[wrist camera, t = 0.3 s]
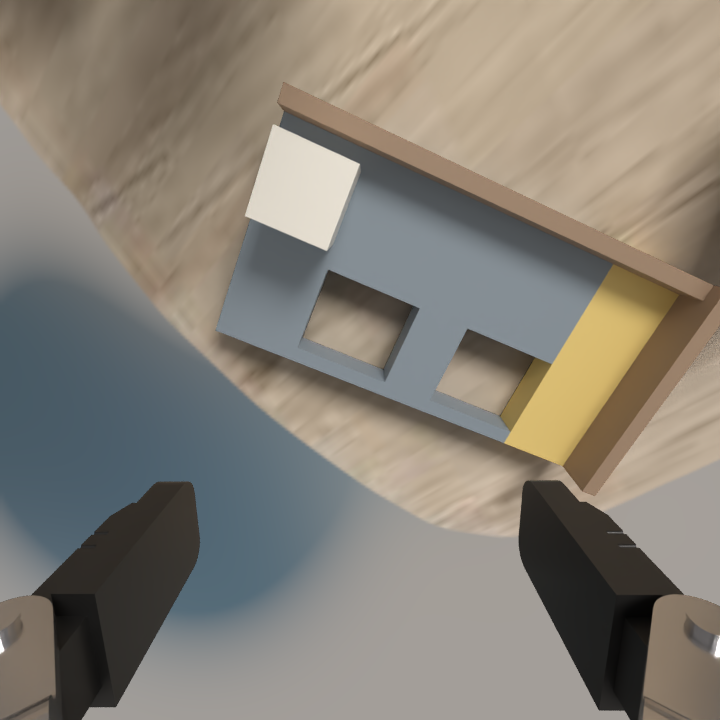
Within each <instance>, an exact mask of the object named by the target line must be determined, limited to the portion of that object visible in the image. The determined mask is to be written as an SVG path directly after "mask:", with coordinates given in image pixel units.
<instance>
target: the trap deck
mask: <svg viewBox="0 0 720 720" xmlns="http://www.w3.org/2000/svg"><path fill="white" fill-rule="evenodd" d="M277 103H278V104H279V105H280V107H281V108H282V109H283V110H284V113H283V117H282V120H281V123H280V126H279V127H281V128H283V129H285V130H287V131H289V132H291V133H294V134H296V135H298V136H300V137H302V138H305V139H307V140H309V141H311V142H313V143H315V144H318V145H320V146H322V147H324V148H326V149H328V150H331V151H333V152H335V153H337V154H339V155H342V156H344V157H346V158H348V159H350V160H352V161H355V162H357V163H359V164H360V169H361V173H360V176H359V178H358V181H357V184H356V186H355V189H354V191H353V194H352V197H351V199H350V202H349V204H348V207H347V210H346V212H345V215H344V217H343V220H342V223H341V225H340V228H339V230H338V233H337V236H336V238H335V241H334V243H333V245H332V246H331V247H330V248H329V249H328V250H327V251H326V250H323V249H321V248H319V247H316V246H314V245H312V244H309V243H307V242H305V241H302V240H300V239H298V238H295V237H293V236H291V235H288V234H286V233H284V232H281V231H279V230H277V229H274V228H272V227H270V226H267V225H265V224H263V223H260V222H258V221H256V220H253V219H250V222H249V225H248V228H247V232H246V235H245V238H244V241H243V244H242V247H241V251H240V254H239V257H238V260H237V263H236V267H235V270H234V273H233V276H232V279H231V283H230V286H229V289H228V292H227V295H226V299H225V302H224V305H223V308H222V311H221V315H220V318H219V321H218V324H217V327H216V331H218V332H221V333H223V334H226V335H228V336H231V337H234V338H236V339H239V340H241V341H244V342H246V343H249V344H251V345H254V346H257V347H259V348H262V349H264V350H267V351H269V352H272V353H274V354H277V355H280V356H282V357H285V358H287V359H290V360H292V361H295V362H297V363H300V364H303V365H305V366H308V367H310V368H313V369H315V370H318V371H321V372H323V373H326V374H328V375H331V376H333V377H336V378H338V379H341V380H344V381H346V382H349V383H351V384H354V385H356V386H359V387H361V388H364V389H367V390H369V391H372V392H374V393H377V394H379V395H382V396H384V397H387V398H390V399H392V400H395V401H397V402H400V403H402V404H405V405H408V406H410V407H413V408H415V409H418V410H420V411H423V412H425V413H428V414H431V415H433V416H436V417H438V418H441V419H443V420H446V421H448V422H451V423H454V424H456V425H459V426H461V427H464V428H466V429H469V430H471V431H474V432H477V433H479V434H482V435H484V436H487V437H489V438H492V439H495V440H497V441H500V442H502V443H505V444H507V445H510V446H512V447H515V448H518V449H520V450H523V451H525V452H528V453H530V454H533V455H535V456H538V457H541V458H543V459H546V460H548V461H551V462H553V463H556V464H559V465H561V466H563V467H564V468H565V470H566V471H567V472H568V474H569V475H570V476H571V477H572V479H573V480H574V481H575V483H576V484H577V485H578V486H579V488H580V489H581V490H582V491H583V492H585V493H588V494H591V495H593V496H595V495H596V494H597V493H598V491H599V490H600V488H601V487H602V486H603V484H604V483H605V482H606V480H607V479H608V478H609V476H610V475H611V473H612V472H613V471H614V469H615V468H616V467H617V465H618V464H619V462H620V461H621V460H622V458H623V457H624V456H625V454H626V453H627V452H628V450H629V449H630V447H631V446H632V445H633V443H634V442H635V441H636V439H637V438H638V437H639V435H640V434H641V432H642V431H643V430H644V428H645V427H646V426H647V424H648V423H649V421H650V420H651V419H652V417H653V416H654V415H655V413H656V412H657V411H658V409H659V408H660V406H661V405H662V404H663V402H664V401H665V400H666V398H667V397H668V396H669V394H670V393H671V391H672V390H673V389H674V387H675V386H676V385H677V383H678V382H679V380H680V379H681V378H682V376H683V375H684V374H685V372H686V371H687V370H688V368H689V367H690V365H691V364H692V363H693V361H694V360H695V359H696V357H697V356H698V355H699V353H700V352H701V350H702V349H703V348H704V346H705V345H706V344H707V342H708V341H709V340H710V338H711V337H712V335H713V334H714V333H715V331H716V330H717V329H718V327H719V326H720V287H718V286H714V285H712V284H709V283H707V282H705V281H703V280H701V279H699V278H697V277H695V276H693V275H690V274H688V273H686V272H684V271H682V270H680V269H678V268H676V267H673V266H671V265H669V264H667V263H665V262H663V261H661V260H659V259H657V258H654V257H652V256H650V255H648V254H646V253H644V252H642V251H640V250H638V249H635V248H633V247H631V246H629V245H627V244H625V243H623V242H621V241H619V240H616V239H614V238H612V237H610V236H608V235H606V234H604V233H602V232H600V231H597V230H595V229H593V228H591V227H589V226H587V225H585V224H583V223H581V222H578V221H576V220H574V219H572V218H570V217H568V216H566V215H564V214H562V213H559V212H557V211H555V210H553V209H551V208H549V207H547V206H545V205H542V204H540V203H538V202H536V201H534V200H532V199H530V198H528V197H526V196H523V195H521V194H519V193H517V192H515V191H513V190H511V189H509V188H507V187H504V186H502V185H500V184H498V183H496V182H494V181H492V180H490V179H488V178H485V177H483V176H481V175H479V174H477V173H475V172H473V171H471V170H469V169H466V168H464V167H462V166H460V165H458V164H456V163H454V162H452V161H450V160H447V159H445V158H443V157H441V156H439V155H437V154H435V153H433V152H431V151H428V150H426V149H424V148H422V147H420V146H418V145H416V144H414V143H412V142H409V141H407V140H405V139H403V138H401V137H399V136H397V135H395V134H392V133H390V132H388V131H386V130H384V129H382V128H380V127H378V126H376V125H373V124H371V123H369V122H367V121H365V120H363V119H361V118H359V117H357V116H354V115H352V114H350V113H348V112H346V111H344V110H342V109H340V108H338V107H335V106H333V105H331V104H329V103H327V102H325V101H323V100H321V99H319V98H316V97H314V96H312V95H310V94H308V93H306V92H304V91H302V90H300V89H297V88H295V87H293V86H291V85H289V84H287V83H285V82H283V85H282V88H281V92H280V95H279V98H278V102H277ZM329 270H330V271H333V272H335V273H337V274H340V275H342V276H344V277H347V278H349V279H352V280H354V281H356V282H359V283H361V284H363V285H366V286H368V287H370V288H373V289H375V290H378V291H380V292H382V293H385V294H387V295H389V296H392V297H394V298H396V299H399V300H401V301H404V302H406V303H408V304H411V305H413V307H412V310H411V312H410V314H409V316H408V318H407V320H406V322H405V325H404V327H403V329H402V331H401V333H400V335H399V337H398V339H397V342H396V344H395V346H394V348H393V350H392V352H391V354H390V357H389V359H388V361H387V363H386V365H385V367H384V369H380V368H378V367H375V366H373V365H370V364H368V363H365V362H363V361H360V360H358V359H355V358H353V357H350V356H348V355H345V354H343V353H340V352H338V351H335V350H333V349H330V348H328V347H325V346H323V345H320V344H318V343H315V342H313V341H310V340H308V339H305V338H303V335H304V333H305V330H306V327H307V325H308V322H309V320H310V317H311V315H312V312H313V309H314V307H315V304H316V302H317V299H318V297H319V294H320V291H321V289H322V286H323V284H324V281H325V278H326V276H327V273H328V271H329ZM467 329H470V330H472V331H475V332H477V333H479V334H482V335H484V336H486V337H489V338H491V339H493V340H496V341H498V342H501V343H503V344H505V345H508V346H510V347H512V348H515V349H517V350H520V351H522V352H524V353H527V354H529V355H531V356H534V357H535V358H534V360H533V362H532V363H531V365H530V367H529V369H528V370H527V372H526V374H525V375H524V377H523V379H522V380H521V382H520V384H519V385H518V387H517V389H516V390H515V392H514V394H513V395H512V397H511V399H510V401H509V402H508V404H507V406H506V407H505V409H504V411H503V412H502V414H501V416H498V415H496V414H493V413H491V412H488V411H486V410H483V409H481V408H478V407H476V406H473V405H471V404H468V403H466V402H463V401H461V400H458V399H456V398H453V397H451V396H448V395H446V394H443V393H441V392H438V391H436V388H437V386H438V384H439V382H440V380H441V378H442V376H443V374H444V372H445V371H446V369H447V367H448V365H449V363H450V361H451V359H452V357H453V355H454V353H455V351H456V350H457V348H458V346H459V344H460V342H461V340H462V338H463V336H464V334H465V332H466V330H467Z"/></svg>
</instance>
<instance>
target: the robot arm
mask: <svg viewBox="0 0 720 720" xmlns="http://www.w3.org/2000/svg"><path fill="white" fill-rule="evenodd" d="M199 547H200V537H199V527H198V519H197V510H196V501H195V493H194V488H193V485H192V483H190V482H157V483H155V484H154V485H153V486H152V487H151V488H150V489H149V490H148V491H147V492H146V493H145V494H144V496H143V497H142V498H141V499H140V500H139V501H138V502H137V503H131V504H130V505H128V506H126V507H125V508H123V509H121V510H120V511H118V512H116V513H115V514H113V515H111V516H110V517H109V518H108V519H107V520H106V521H105V522H104V523H103V524H102V525H101V526H100V527H99V528H98V529H97V530H96V531H95V533H94V535H91V536H90V537H89V538H88V539H87V540H86V541H85V542H84V543H83V544H82V545H81V548H80V549H79V548H78V549H77V550H76V551H75V552H74V553H73V554H72V555H71V556H70V557H69V558H68V559H67V560H66V561H65V562H64V563H63V564H62V565H61V566H60V567H59V568H58V569H57V570H56V571H55V572H54V573H53V574H52V575H51V576H50V577H49V578H48V579H47V580H46V581H45V582H44V583H43V584H42V585H41V586H40V587H39V588H38V589H37V590H36V591H35V592H34V593H33V594H32V595H31V596H22V597H17V598H13V599H9V600H6V601H3V602H0V720H82V718H83V717H84V715H85V713H86V711H87V710H88V708H89V707H116V706H117V704H118V702H119V701H120V699H121V697H122V695H123V694H124V692H125V690H126V688H127V686H128V684H129V683H130V681H131V679H132V677H133V676H134V674H135V672H136V670H137V668H138V667H139V665H140V663H141V661H142V659H143V657H144V655H145V654H146V652H147V651H148V649H149V647H150V645H151V643H152V642H153V640H154V638H155V636H156V634H157V632H158V630H159V629H160V627H161V625H162V624H163V622H164V620H165V618H166V616H167V615H168V613H169V611H170V609H171V607H172V606H173V604H174V602H175V600H176V598H177V597H178V595H179V593H180V591H181V590H182V588H183V586H184V584H185V582H186V581H187V579H188V577H189V575H190V574H191V572H192V570H193V568H194V566H195V564H196V561H197V558H198V553H199ZM519 551H520V556H521V560H522V563H523V565H524V567H525V569H526V572H527V573H528V575H529V577H530V579H531V581H532V583H533V585H534V587H535V589H536V590H537V593H538V595H539V596H540V598H541V600H542V602H543V604H544V606H545V608H546V610H547V612H548V614H549V615H550V617H551V619H552V621H553V623H554V625H555V627H556V629H557V631H558V633H559V635H560V637H561V638H562V640H563V642H564V644H565V646H566V648H567V650H568V652H569V654H570V656H571V658H572V660H573V661H574V664H575V665H576V667H577V669H578V671H579V673H580V675H581V677H582V679H583V681H584V682H585V685H586V687H587V688H588V690H589V692H590V694H591V696H592V698H593V700H594V702H595V704H596V706H597V707H598V709H599V710H619V711H621V710H624V711H625V712H626V713H627V715H628V717H629V718H630V720H720V606H718V605H716V604H714V603H711V602H709V601H706V600H703V599H699V598H697V597H692V596H687V595H684V594H683V593H682V592H681V591H680V590H679V589H678V588H677V587H676V586H675V585H674V584H673V583H672V582H671V581H670V579H669V578H668V577H666V575H665V574H664V573H663V572H662V571H661V570H660V569H659V568H658V567H657V566H656V565H655V564H654V563H653V562H652V561H651V560H650V559H649V558H648V557H647V555H646V554H645V553H644V552H643V551H642V550H641V549H640V548H636V544H635V543H634V542H633V541H632V540H631V539H630V538H629V537H628V536H627V535H626V534H623V531H622V529H621V528H620V527H619V526H618V525H617V524H616V523H615V522H614V521H613V520H612V519H611V518H610V517H609V516H608V515H607V514H605V513H604V512H602V511H600V510H599V509H597V508H595V507H594V506H592V505H590V504H589V503H587V502H579V501H578V499H577V498H576V497H575V496H574V495H573V494H572V493H571V492H570V490H569V489H568V488H567V487H566V486H565V485H564V484H563V483H562V482H561V481H558V480H544V481H526V482H525V484H524V486H523V492H522V504H521V516H520V527H519Z"/></svg>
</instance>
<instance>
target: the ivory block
mask: <svg viewBox="0 0 720 720" xmlns="http://www.w3.org/2000/svg"><path fill="white" fill-rule="evenodd" d="M360 173H361V169H360V164H359V163H357V162H355V161H352V160H350V159H348V158H346V157H344V156H342V155H339V154H337V153H335V152H333V151H331V150H328V149H326V148H324V147H322V146H320V145H318V144H315V143H313V142H311V141H309V140H307V139H305V138H302V137H300V136H298V135H296V134H294V133H291V132H289V131H287V130H285V129H283V128H281V127H278V126H276V125H274V124H273V126H272V130H271V133H270V136H269V139H268V143H267V146H266V149H265V152H264V156H263V159H262V162H261V165H260V168H259V172H258V175H257V178H256V181H255V185H254V188H253V191H252V194H251V198H250V201H249V204H248V207H247V211H246V214H245V216H246V217H249V218H251V219H253V220H256V221H258V222H260V223H263V224H265V225H267V226H270V227H272V228H274V229H277V230H279V231H281V232H284V233H286V234H288V235H291V236H293V237H295V238H298V239H300V240H302V241H305V242H307V243H309V244H312V245H314V246H316V247H319V248H321V249H323V250H326V251H327V250H328V249H329V248H330V247H331V246H332V245H333V243H334V241H335V238H336V236H337V233H338V230H339V228H340V225H341V223H342V220H343V217H344V215H345V212H346V210H347V207H348V204H349V202H350V199H351V197H352V194H353V191H354V189H355V186H356V184H357V181H358V178H359V176H360Z"/></svg>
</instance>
